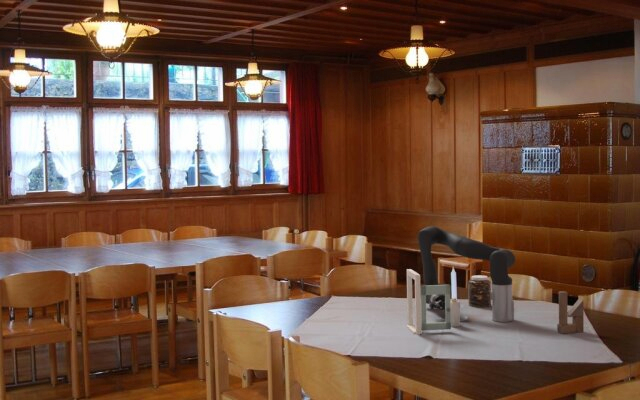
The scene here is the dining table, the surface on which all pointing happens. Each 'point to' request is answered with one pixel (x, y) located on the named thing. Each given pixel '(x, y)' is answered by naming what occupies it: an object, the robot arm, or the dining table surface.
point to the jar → (479, 291)
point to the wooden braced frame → (570, 315)
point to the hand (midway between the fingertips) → (448, 307)
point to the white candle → (455, 312)
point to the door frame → (415, 328)
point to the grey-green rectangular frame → (445, 290)
